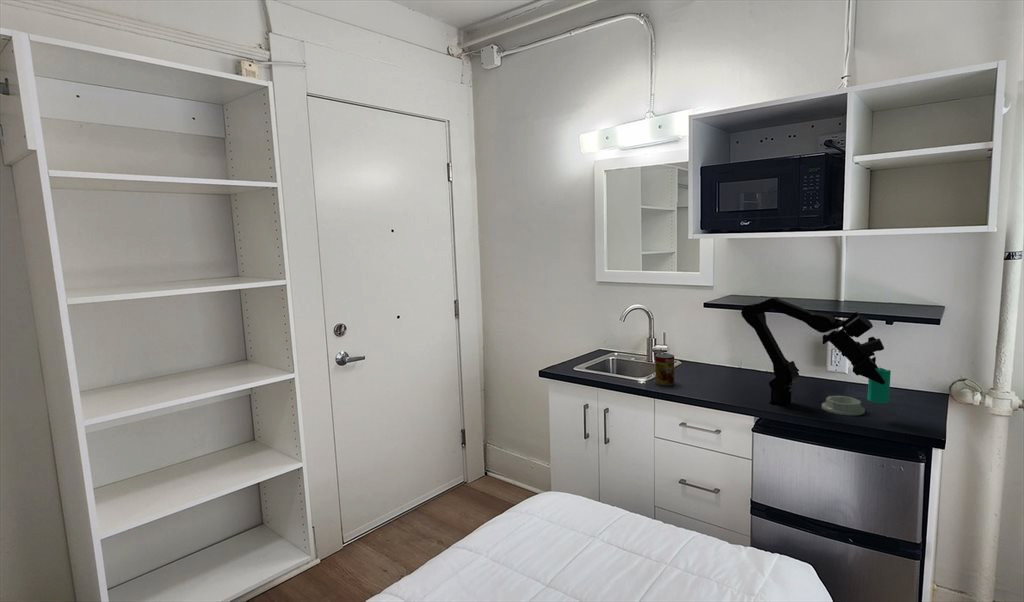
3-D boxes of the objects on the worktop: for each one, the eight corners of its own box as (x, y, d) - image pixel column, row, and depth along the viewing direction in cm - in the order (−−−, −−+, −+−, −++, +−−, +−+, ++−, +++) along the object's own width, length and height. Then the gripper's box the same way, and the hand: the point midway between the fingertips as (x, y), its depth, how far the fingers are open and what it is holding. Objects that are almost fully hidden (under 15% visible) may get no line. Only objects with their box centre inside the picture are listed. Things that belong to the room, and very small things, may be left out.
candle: (892, 403, 175) (894, 367, 174) (870, 402, 177) (873, 366, 175) (884, 398, 181) (886, 363, 179) (864, 397, 183) (866, 362, 181)
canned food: (671, 386, 227) (671, 358, 225) (652, 383, 231) (652, 356, 229) (676, 381, 233) (676, 354, 232) (658, 379, 237) (658, 352, 236)
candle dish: (817, 410, 190) (817, 401, 190) (826, 401, 200) (827, 392, 199) (860, 418, 181) (861, 408, 181) (868, 408, 191) (868, 398, 191)
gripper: (866, 334, 171) (907, 373, 166) (868, 326, 186) (905, 360, 181) (836, 356, 176) (875, 394, 171) (840, 346, 191) (876, 380, 186)
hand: (884, 381), depth 177 cm, fingers closed on candle, 5 cm apart
